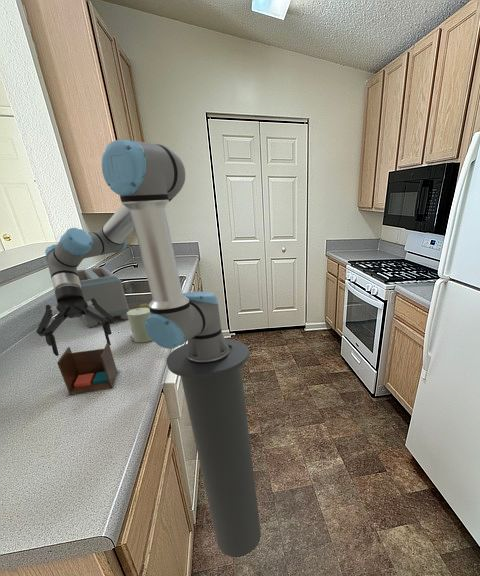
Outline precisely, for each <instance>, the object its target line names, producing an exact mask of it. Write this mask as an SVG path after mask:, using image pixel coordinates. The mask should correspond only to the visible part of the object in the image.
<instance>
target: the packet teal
mask: <svg viewBox="0 0 480 576" xmlns="http://www.w3.org/2000/svg"><path fill="white" fill-rule="evenodd" d="M93 383H94V385H96V384H102V383H109V382H108V379H107V376H106V373H105V371H104V372H97V373H96V376H95V378H94V380H93Z"/></svg>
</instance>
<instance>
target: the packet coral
mask: <svg viewBox="0 0 480 576" xmlns="http://www.w3.org/2000/svg"><path fill="white" fill-rule="evenodd" d="M94 377H95V375H94V373H91V374H84V375H79V376H78V377H77V379H76V381H75V383H74V386H75V388H76V387H83V386H89V385H91V384H92V382H93V379H94Z"/></svg>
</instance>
